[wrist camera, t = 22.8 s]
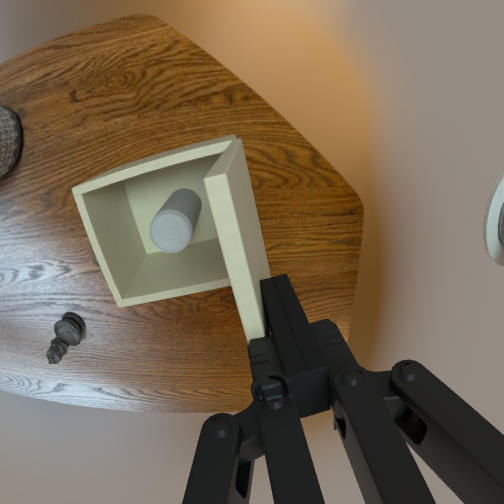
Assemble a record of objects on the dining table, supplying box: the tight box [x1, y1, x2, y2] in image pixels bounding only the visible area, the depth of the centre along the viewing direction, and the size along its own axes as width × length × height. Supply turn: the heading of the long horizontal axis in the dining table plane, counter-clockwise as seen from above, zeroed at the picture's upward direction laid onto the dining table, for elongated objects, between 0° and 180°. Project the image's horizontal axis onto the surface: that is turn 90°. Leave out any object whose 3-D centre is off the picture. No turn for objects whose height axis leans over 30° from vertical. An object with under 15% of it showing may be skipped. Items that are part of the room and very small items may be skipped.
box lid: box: [203, 138, 271, 345], centre depth 21 cm, size 19×15×1 cm
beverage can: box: [149, 188, 201, 253], centre depth 37 cm, size 5×5×12 cm
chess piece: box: [46, 312, 86, 364], centre depth 46 cm, size 6×6×12 cm
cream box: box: [72, 134, 237, 308], centre depth 37 cm, size 18×15×14 cm
